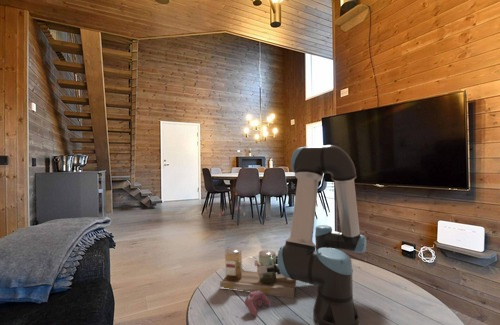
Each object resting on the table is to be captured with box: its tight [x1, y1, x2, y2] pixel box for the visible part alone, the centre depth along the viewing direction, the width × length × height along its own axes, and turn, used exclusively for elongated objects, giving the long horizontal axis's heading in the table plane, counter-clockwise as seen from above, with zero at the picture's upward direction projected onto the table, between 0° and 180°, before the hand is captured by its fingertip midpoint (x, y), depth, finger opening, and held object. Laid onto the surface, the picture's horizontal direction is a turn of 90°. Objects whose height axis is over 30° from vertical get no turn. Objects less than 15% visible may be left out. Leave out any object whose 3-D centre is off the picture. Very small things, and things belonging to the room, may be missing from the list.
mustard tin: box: [224, 247, 243, 281], centre depth 117 cm, size 8×8×12 cm
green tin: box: [256, 249, 277, 285], centre depth 113 cm, size 8×8×12 cm
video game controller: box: [244, 290, 271, 317], centre depth 96 cm, size 10×5×7 cm, turn 141°
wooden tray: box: [219, 270, 297, 298], centre depth 114 cm, size 16×32×3 cm, turn 76°
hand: (256, 266), depth 112 cm, fingers closed on green tin, 7 cm apart
